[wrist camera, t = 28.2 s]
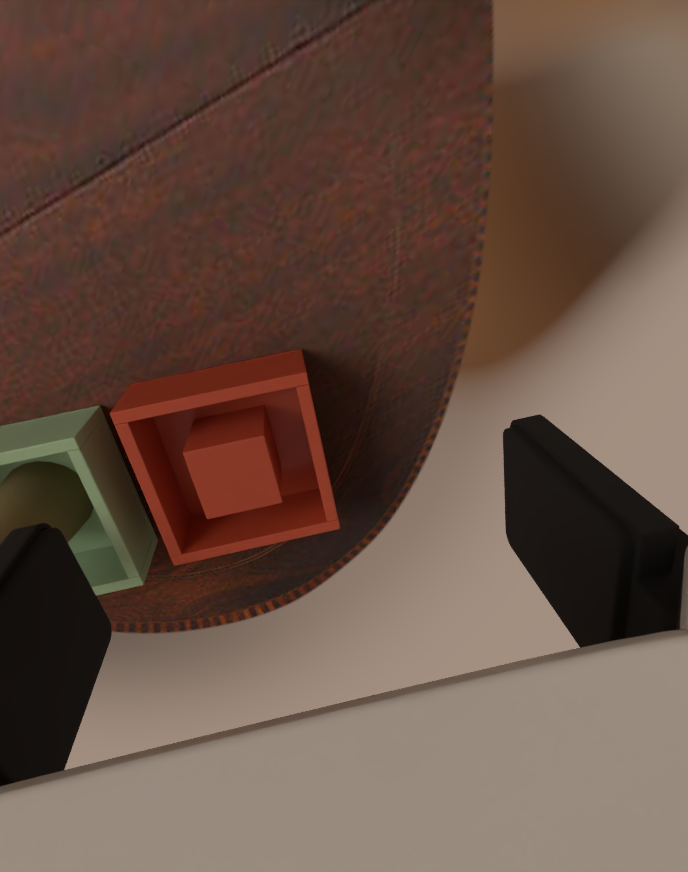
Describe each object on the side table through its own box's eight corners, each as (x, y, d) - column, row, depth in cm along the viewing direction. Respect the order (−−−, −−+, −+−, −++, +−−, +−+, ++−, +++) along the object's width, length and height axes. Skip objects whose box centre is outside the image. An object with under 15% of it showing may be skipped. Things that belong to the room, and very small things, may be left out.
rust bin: (130, 383, 33) (108, 413, 29) (301, 348, 34) (306, 371, 29) (185, 523, 38) (173, 566, 34) (332, 490, 39) (340, 528, 34)
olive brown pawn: (98, 470, 35) (32, 577, 25) (89, 539, 37) (26, 662, 27) (2, 452, 33) (-108, 559, 24) (-1, 525, 36) (-102, 650, 26)
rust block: (193, 419, 34) (182, 453, 30) (264, 404, 34) (264, 435, 30) (214, 480, 37) (206, 520, 32) (281, 465, 37) (282, 503, 32)
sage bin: (-75, 441, 33) (-129, 480, 28) (100, 405, 33) (74, 437, 29) (8, 573, 38) (-27, 623, 34) (158, 540, 39) (144, 585, 34)
